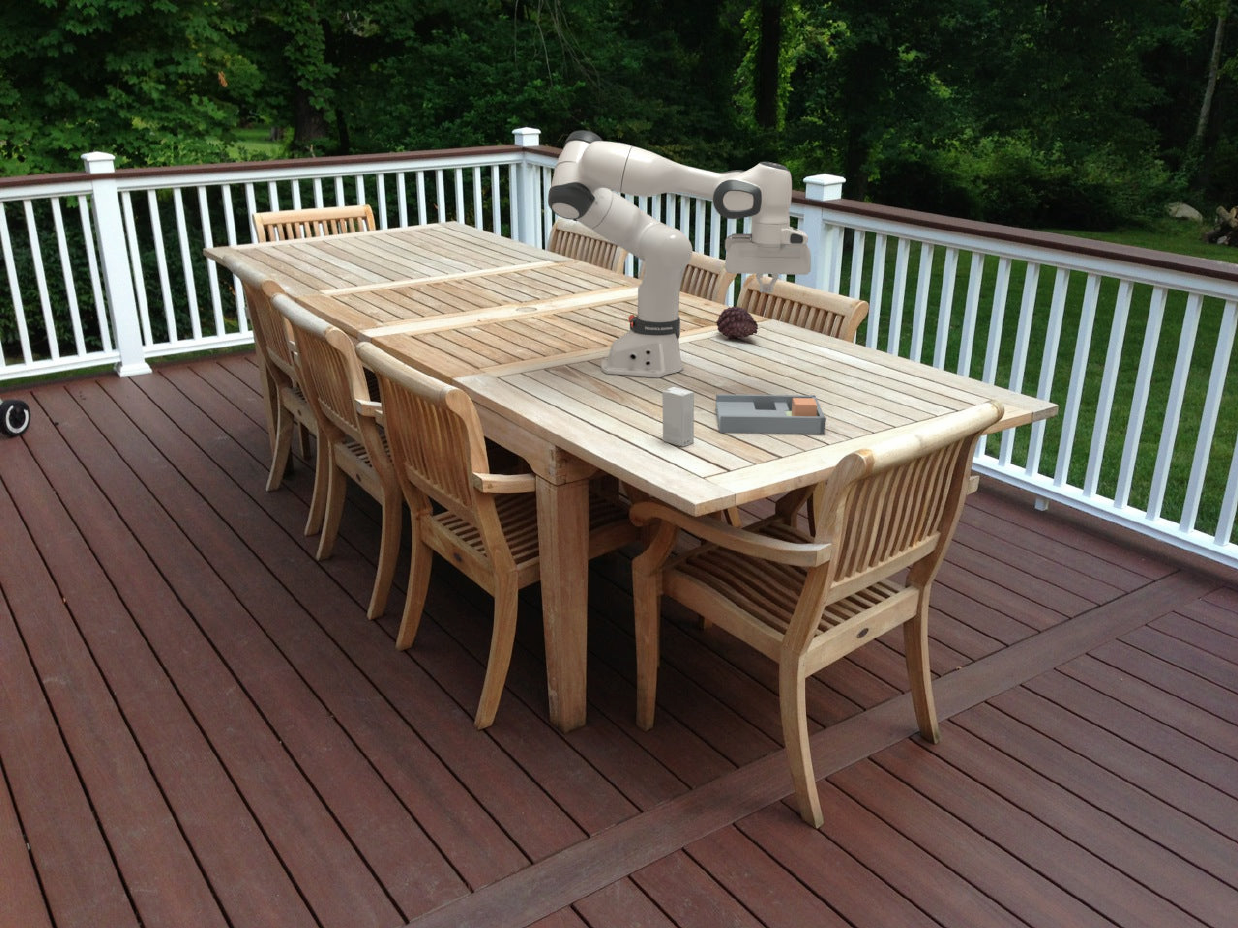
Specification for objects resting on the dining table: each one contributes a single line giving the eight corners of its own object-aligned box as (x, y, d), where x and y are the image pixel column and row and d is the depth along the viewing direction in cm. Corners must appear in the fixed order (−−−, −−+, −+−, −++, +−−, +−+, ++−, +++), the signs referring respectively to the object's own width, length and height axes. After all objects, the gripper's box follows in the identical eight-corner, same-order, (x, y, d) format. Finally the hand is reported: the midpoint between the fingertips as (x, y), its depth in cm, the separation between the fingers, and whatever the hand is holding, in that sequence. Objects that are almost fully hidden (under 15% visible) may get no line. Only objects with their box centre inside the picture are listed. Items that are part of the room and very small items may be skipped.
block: (794, 421, 253) (795, 404, 251) (791, 414, 257) (792, 398, 256) (815, 421, 253) (817, 405, 251) (812, 414, 257) (814, 398, 256)
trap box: (720, 432, 251) (720, 416, 250) (715, 409, 267) (716, 393, 266) (824, 434, 251) (825, 418, 250) (813, 410, 267) (815, 395, 265)
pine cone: (767, 344, 323) (769, 311, 320) (740, 348, 318) (742, 315, 315) (730, 331, 337) (732, 299, 334) (704, 335, 332) (705, 303, 329)
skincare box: (694, 442, 245) (696, 391, 241) (681, 448, 242) (683, 396, 238) (673, 436, 249) (675, 385, 245) (660, 441, 246) (661, 389, 241)
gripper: (726, 235, 254) (723, 294, 259) (814, 237, 254) (809, 295, 259) (724, 230, 260) (721, 288, 265) (810, 232, 259) (806, 290, 265)
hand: (765, 292), depth 262 cm, fingers closed
